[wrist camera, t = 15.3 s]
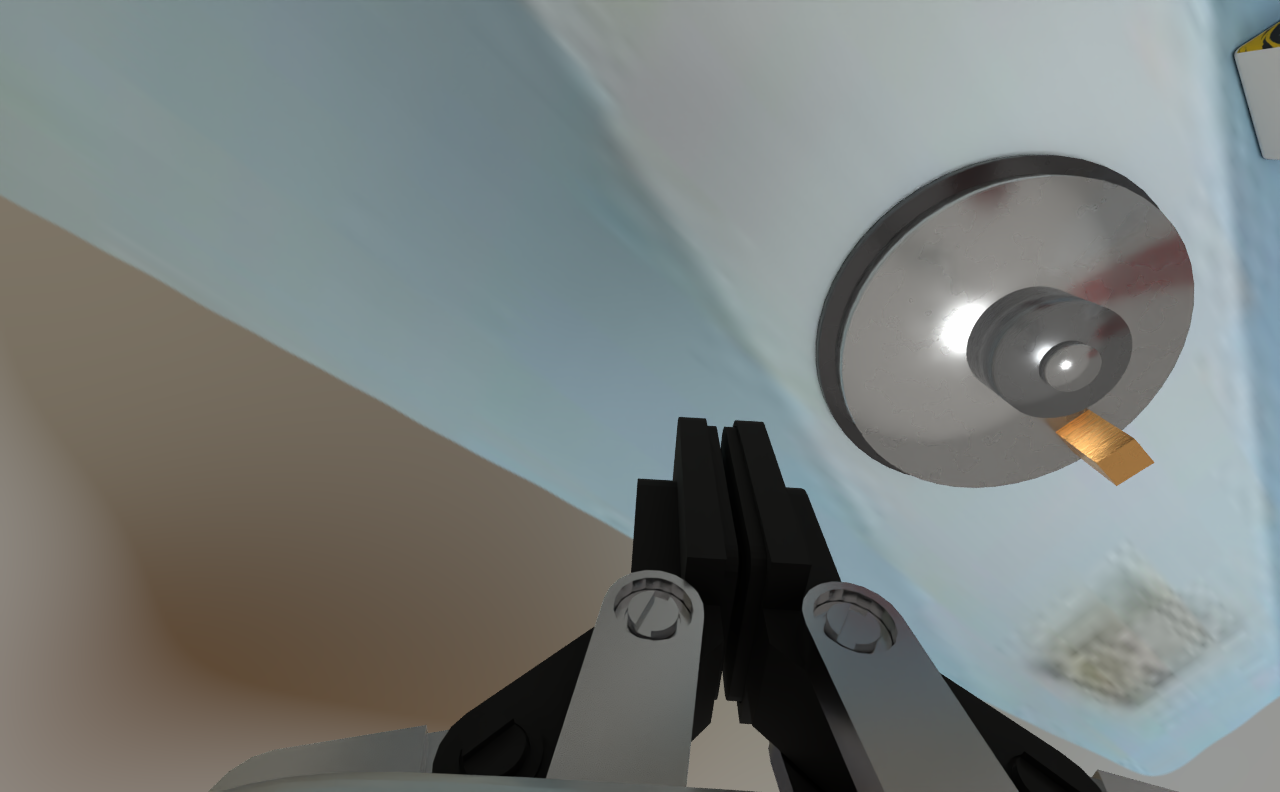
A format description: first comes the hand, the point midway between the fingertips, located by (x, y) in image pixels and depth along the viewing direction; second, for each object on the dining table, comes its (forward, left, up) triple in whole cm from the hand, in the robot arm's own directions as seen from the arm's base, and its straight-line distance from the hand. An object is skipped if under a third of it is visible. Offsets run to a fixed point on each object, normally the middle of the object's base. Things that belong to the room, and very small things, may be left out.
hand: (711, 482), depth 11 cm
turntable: (+5, +22, -27) cm, 35 cm away
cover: (+4, +22, -25) cm, 34 cm away
